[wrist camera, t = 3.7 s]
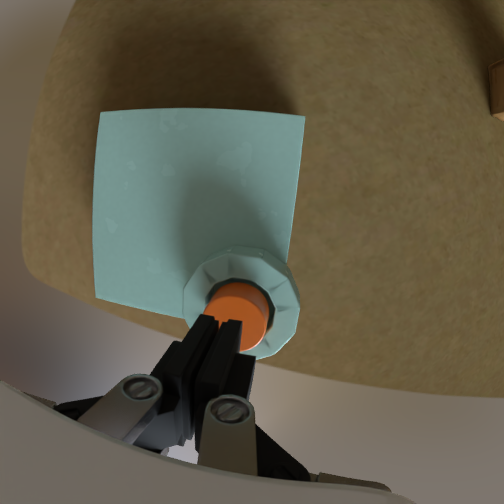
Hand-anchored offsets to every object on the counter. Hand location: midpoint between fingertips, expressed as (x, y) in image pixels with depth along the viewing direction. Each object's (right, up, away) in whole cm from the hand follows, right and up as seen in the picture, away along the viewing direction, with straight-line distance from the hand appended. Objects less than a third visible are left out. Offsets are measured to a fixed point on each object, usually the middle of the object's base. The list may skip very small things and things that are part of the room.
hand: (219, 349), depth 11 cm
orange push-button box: (-2, +7, +9) cm, 11 cm away
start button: (+1, +1, +4) cm, 4 cm away
